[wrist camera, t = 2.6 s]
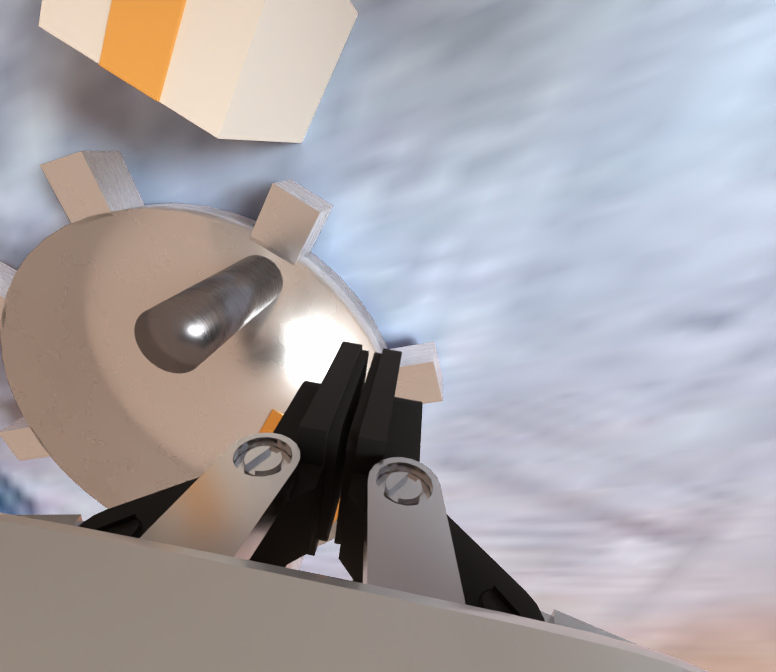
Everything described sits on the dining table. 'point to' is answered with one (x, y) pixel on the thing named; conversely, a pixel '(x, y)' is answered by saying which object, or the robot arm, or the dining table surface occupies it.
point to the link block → (215, 56)
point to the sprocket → (172, 330)
